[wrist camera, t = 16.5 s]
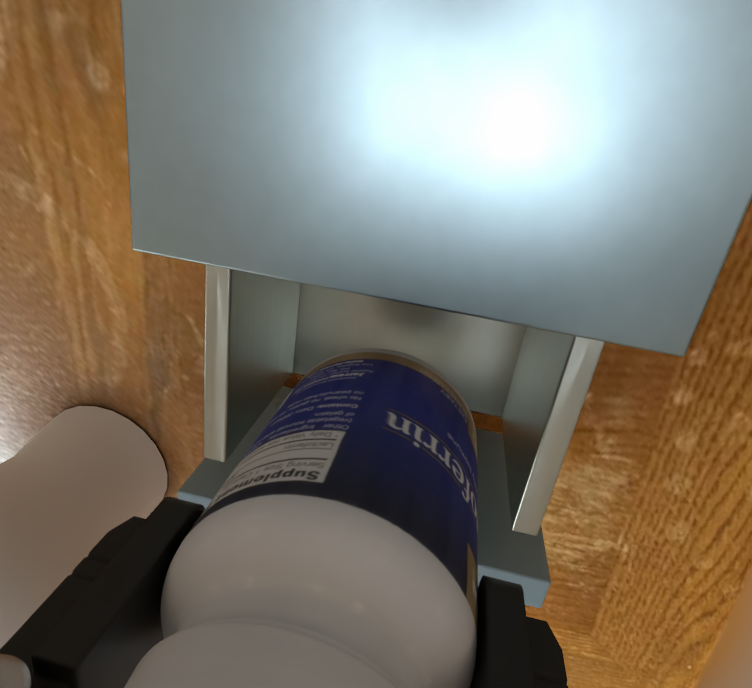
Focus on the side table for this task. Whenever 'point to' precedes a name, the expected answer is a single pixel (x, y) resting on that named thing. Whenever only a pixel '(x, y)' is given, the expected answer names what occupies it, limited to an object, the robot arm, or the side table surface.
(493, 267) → the drawer cabinet
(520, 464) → the drawer
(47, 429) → the cup
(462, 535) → the pill bottle
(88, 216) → the side table surface
